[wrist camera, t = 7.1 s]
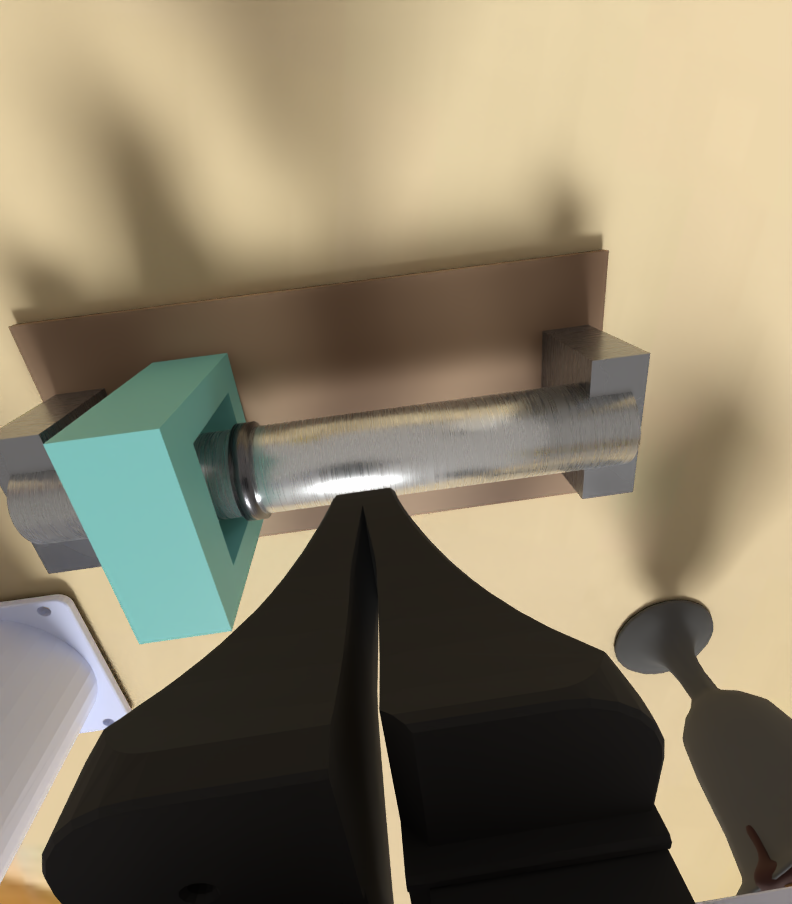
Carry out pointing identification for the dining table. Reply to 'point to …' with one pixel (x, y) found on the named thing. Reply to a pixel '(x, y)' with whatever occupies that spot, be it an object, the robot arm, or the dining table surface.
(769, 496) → the dining table surface
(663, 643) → the sundae
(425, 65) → the dining table surface
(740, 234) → the dining table surface
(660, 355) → the dining table surface
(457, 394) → the base board
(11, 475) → the metal rail stand
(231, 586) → the collar
